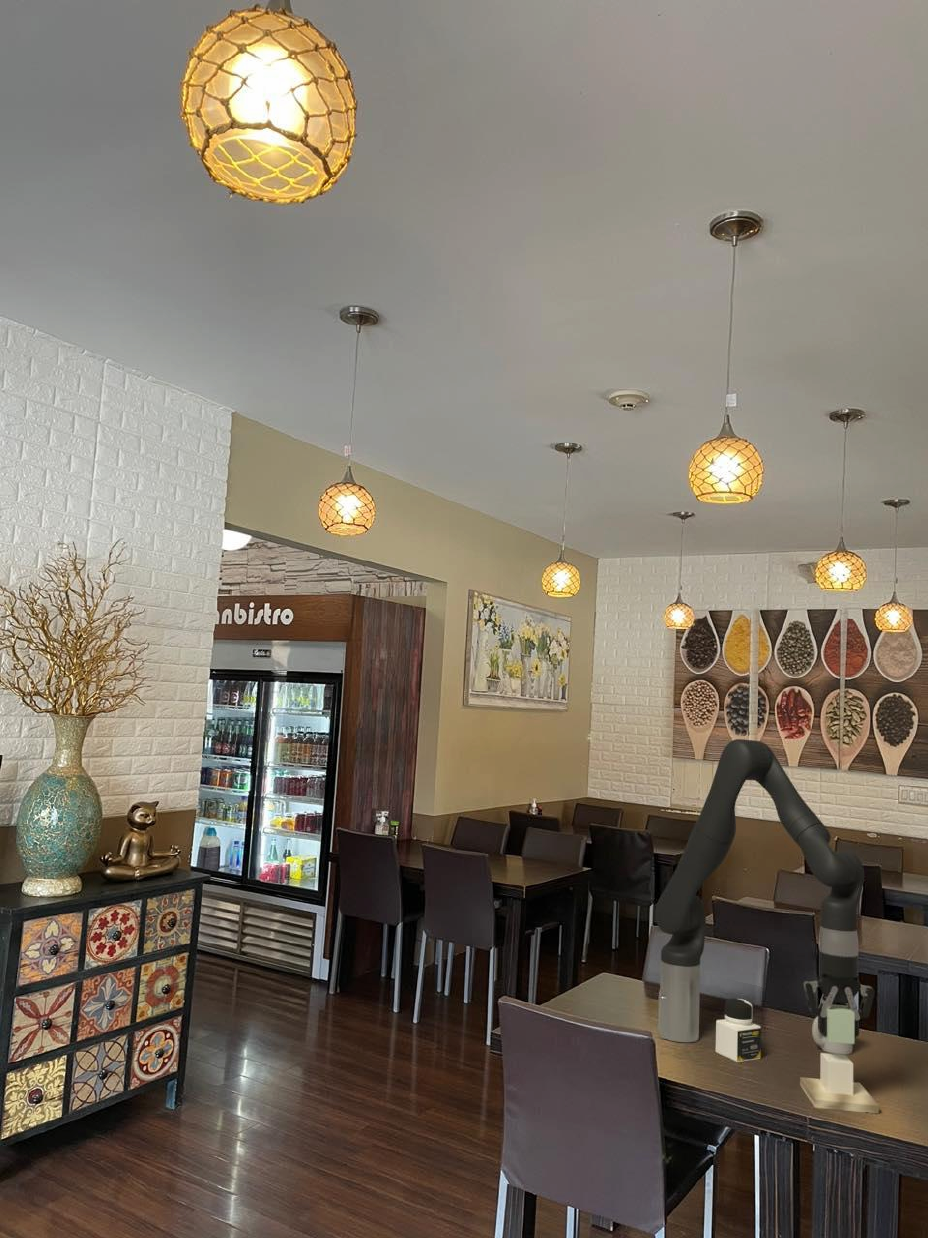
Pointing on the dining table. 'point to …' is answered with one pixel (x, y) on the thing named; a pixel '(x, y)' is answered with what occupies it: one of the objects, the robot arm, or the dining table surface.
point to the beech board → (839, 1097)
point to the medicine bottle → (738, 1032)
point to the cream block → (836, 1074)
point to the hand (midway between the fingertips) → (838, 1036)
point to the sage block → (840, 1024)
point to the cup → (829, 1046)
